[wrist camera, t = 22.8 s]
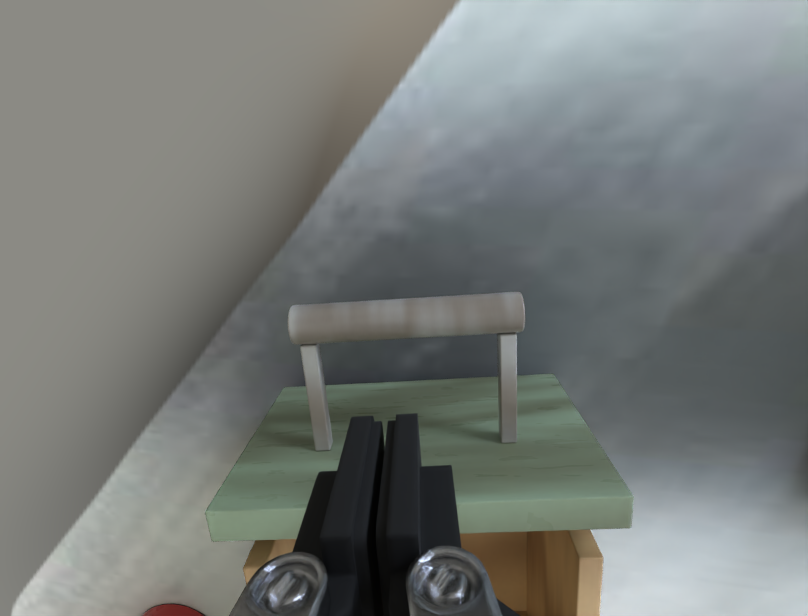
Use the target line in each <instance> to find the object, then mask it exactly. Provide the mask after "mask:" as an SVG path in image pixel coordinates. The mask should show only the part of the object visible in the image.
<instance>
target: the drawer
mask: <svg viewBox="0 0 808 616" xmlns="http://www.w3.org/2000/svg"><path fill="white" fill-rule="evenodd" d="M524 326H525V305H524V300H523V297H522V294H521V293H520V292H503V293H486V294H470V295H453V296H437V297H420V298H404V299H387V300H371V301H355V302H338V303H322V304H305V305H293V306H291V307H290V310H289V313H288V332H289V336H290V339H291V342H292V343H293V344H295V345H299V344H302V345H301V346H300V350H301V357H302V364H303V370H304V377H305V384H306V386H301V387H284V388H283V390H282V391H281V393H280V394H279V396H278V397H277V399H276V401H275V402H274V404H273V405H272V407H271V409H270V410H269V412H268V413H267V415H266V416H265V418H264V420H263V421H262V423H261V424H260V426H259V427H258V429H257V431H256V432H255V434H254V435H253V437H252V439H251V440H250V442H249V443H248V445H247V446H246V448H245V450H244V451H243V453H242V454H241V456H240V457H239V459H238V461H237V462H236V464H235V465H234V467H233V469H232V470H231V472H230V473H229V475H228V476H227V478H226V480H225V481H224V483H223V484H222V486H221V487H220V489H219V491H218V492H217V494H216V495H215V497H214V499H213V500H212V502H211V503H210V505H209V506H208V508H207V510H206V511H205V515H206V519H207V523H208V527H209V531H210V536H211V540H212V541H213V542H217V541H248V540H255V542H254V544H253V547H252V549H251V551H250V553H249V556H248V558H247V560H246V562H245V565H244V567H243V572H244V576H245V581H246V585H247V583H248V582H249V580H250V579H251V577H252V576H253V575H254V573H255V572H256V571H257V570H258V569H259V568H260V567H261V566H263V565H264V564H265V563H266V562H268V561H269V560H271V559H273V558H275V557H277V556H279V555H283V554H286V553H290V552H292V551H293V548H294V545H295V542H296V539H297V536H298V533H299V530H300V527H301V524H302V520H303V517H304V514H305V511H306V508H307V505H308V502H309V499H310V496H311V493H312V490H313V487H314V483H315V480H316V477H317V475H318V473H319V472H320V471H337V469H338V465H339V461H340V457H341V453H342V450H343V446H344V442H345V438H346V434H347V431H348V427H349V423H350V419H351V417H357V416H373V417H374V421H382V425H383V434H384V444H385V442H386V433H387V424H388V421H389V420H396V414H412V413H418V423H419V437H420V450H421V463H422V466H438V465H452V472H453V481H454V489H455V497H456V505H457V514H458V522H459V530H460V539H461V547H462V548H463V549H465V550H467V551H469V552H471V553H473V554H474V555H475V556H476V557H477V558H478V559H479V560H480V561H481V562H482V564H483V566H484V567H485V569H486V571H487V573H488V576H489V579H490V582H491V585H492V587H493V590H494V593H495V596H496V598H497V599H498V600H500V601H501V602H502V603H504V604H505V605H506V606H508V607H509V608H511V609H512V610H513V611H515V612H516V613H517V614H519V615H520V616H600V603H601V587H602V572H603V556H602V554H601V552H600V550H599V548H598V545H597V543H596V541H595V539H594V537H593V535H592V533H591V531H590V529H620V528H631V524H632V512H633V500H634V496H633V495H632V493H631V492H630V490H629V489H628V487H627V486H626V484H625V482H624V481H623V479H622V478H621V476H620V475H619V473H618V472H617V470H616V469H615V467H614V466H613V464H612V463H611V461H610V460H609V458H608V456H607V455H606V453H605V452H604V450H603V449H602V447H601V446H600V444H599V443H598V441H597V440H596V438H595V437H594V435H593V434H592V432H591V430H590V429H589V427H588V426H587V424H586V423H585V421H584V420H583V418H582V417H581V415H580V414H579V412H578V411H577V409H576V408H575V406H574V404H573V403H572V401H571V400H570V398H569V397H568V395H567V394H566V392H565V391H564V389H563V388H562V386H561V385H560V383H559V382H558V380H557V378H556V377H555V375H554V374H538V375H518V376H517V334H516V333H515V332H522V331H523V330H524ZM496 333H497V352H498V377H478V378H459V379H439V380H419V381H400V382H380V383H360V384H341V385H325V379H324V372H323V364H322V357H321V349H320V343H335V342H353V341H371V340H389V339H406V338H424V337H442V336H460V335H478V334H496Z"/></svg>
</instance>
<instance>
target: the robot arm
mask: <svg viewBox="0 0 808 616" xmlns="http://www.w3.org/2000/svg"><path fill="white" fill-rule="evenodd" d="M229 616H520V615H519V614H517V613H516V612H515V611H513V610H512V609H511V608H509V607H508V606H506V605H505V604H504V603H502V602H501V601H500V600H498V599H497V598H496V596H495V593H494V590H493V587H492V585H491V582H490V579H489V576H488V573H487V571H486V569H485V567H484V566H483V564H482V562H481V561H480V560H479V559H478V558H477V557H476V556H475V555H474V554H473V553H471V552H469V551H467V550H465V549H463V548H462V547H461V539H460V530H459V522H458V514H457V505H456V497H455V489H454V481H453V472H452V465H438V466H422V463H421V450H420V437H419V423H418V413H412V414H396V420H389V421H388V424H387V433H386V442H385V444H384V434H383V425H382V421H374V417H373V416H357V417H351V419H350V423H349V427H348V431H347V434H346V438H345V442H344V446H343V450H342V453H341V457H340V461H339V465H338V469H337V471H320V472H319V473H318V475H317V477H316V480H315V483H314V487H313V490H312V493H311V496H310V499H309V502H308V505H307V508H306V511H305V514H304V517H303V520H302V524H301V527H300V530H299V533H298V536H297V539H296V542H295V545H294V548H293V551H292V552H290V553H286V554H283V555H279V556H277V557H275V558H273V559H271V560H269V561H268V562H266V563H265V564H264V565H263V566H261V567H260V568H259V569H258V570H257V571H256V572H255V573H254V575H253V576H252V577H251V579H250V580H249V582H248V583H247V585H246V587H245V589H244V590H243V592H242V594H241V596H240V597H239V599H238V601H237V603H236V604H235V606H234V608H233V609H232V611H231V613H230V615H229Z"/></svg>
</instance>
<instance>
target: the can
mask: <svg viewBox="0 0 808 616" xmlns="http://www.w3.org/2000/svg"><path fill="white" fill-rule="evenodd" d="M142 616H203V615H202V614H201V613H199V612H197V611H196V610H194V609H191V608H189V607H186V606H182V605H176V604H164V605H159V606H156V607H153V608H151V609H149V610H148V611H146V612H145V613H144V614H143V615H142Z"/></svg>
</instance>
